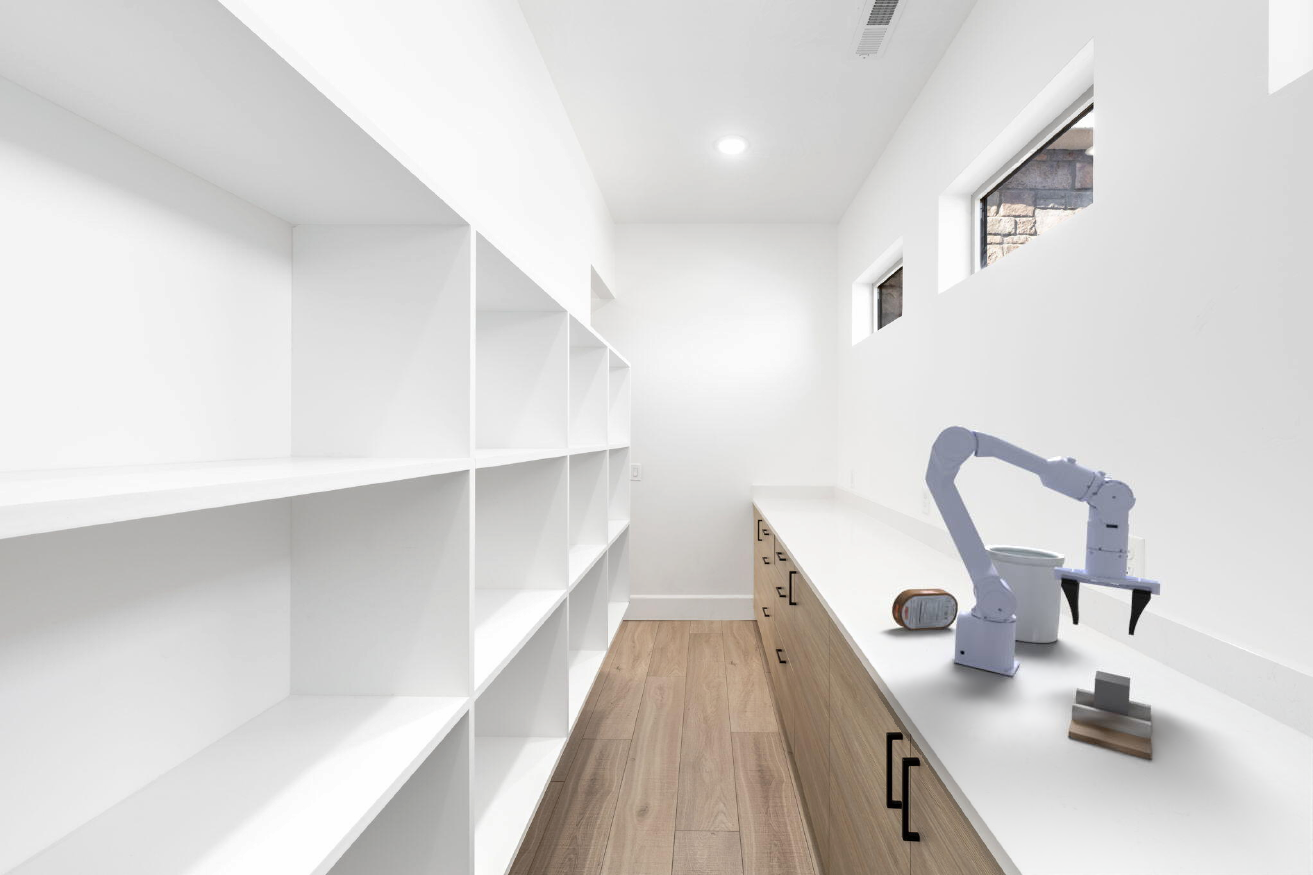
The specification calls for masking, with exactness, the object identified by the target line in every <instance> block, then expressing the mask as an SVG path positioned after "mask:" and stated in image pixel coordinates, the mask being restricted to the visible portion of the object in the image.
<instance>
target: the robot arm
mask: <svg viewBox="0 0 1313 875" xmlns="http://www.w3.org/2000/svg"><path fill="white" fill-rule="evenodd" d="M930 450H931V451H930V455H929V460H928V464H927V469H926V472H925V479H924V480H925V483H926V486H927V488H928V490H929V492H930V494H931V496H932V498H933V501H934V502H935V504H936V507H937V508H938V511H939V513H940V515H941V518H942V520H943V522H944V524H945V526H946V528H947V530H948V532H949V534H950V536H951V538H952V540H953V542H954V544H955V548H956V549H957V552H958V553H959V556H960V558H961V560H962V562H963V564H964V566H965V569H966V571H967V573H968V574H969V577H970V580H971V583H972V586H973V587H972V588H973V589H972V591H973V595H974V598H975V601H976V602H975V603H976V604H975V605H974V606H973V607H971V610H970V611H967V610H960V611H959V612H958V613H957V617H956V625H955V641H954V642H955V643H954V644H955V645H954V659H953V662H954V663H955V664H960V665H964V666H967V667H972V668H976V669H981V670H985V671H989V672H993V673H996V674H1001V675H1005V676H1010V677H1012V676H1014V674H1015V673H1016V671H1017V669H1018V667H1019V666H1020V661H1018V660H1015V651H1016V650H1015V649H1016V640H1015V633H1016V616H1015V615H1014V613H1015V611H1016V608H1017V600H1016V597H1015V595H1014V594H1013V592H1012V591H1011V588H1010V586H1009V584H1008V583H1007V582H1006V580H1004V579H1003V578H1002V577H1001V576H1000V575H999V574H998V573H997V571H996V569H995V567H994V565H993V563H992V561H991V559H990V557H989V555H988V553H987V551H986V549H985V545H984V543H983V541H982V539H981V538H982V537H981V536H980V534H979V532H978V530H977V528H976V526H975V523H974V521H973V519H972V517H971V516H970V513H969V511H968V509H967V507H966V504H965V503H964V501H963V499H962V497H961V494H960V492H959V490H958V488H957V486H956V484H955V479H956V477H957V475H958V474H959V471H960V469H961V466H962V465H963V464H964V463H965V462H966V461H968V459H969V458H970V457H971V456H972V454H973V456H974V457H976V458H990V457H991V458H996V459H998V460H1001V461H1003V462H1006V463H1008V464H1010V465H1012V466H1015V467H1018V468H1020V469H1023V470H1025V471H1027V472H1030V473H1033V474H1035V475H1037V476H1038V478H1039V479H1040V482H1041V484H1042V486H1043V487H1046V488H1048V489H1050V490H1052V491H1055V492H1057V493H1060V494H1062V495H1064V496H1066V497H1067V498H1071V499H1073V500H1076V501H1077V502H1079V503H1082V502H1083V503H1084V502H1086V504H1087V505H1088V519H1087V523H1086V525H1087V526H1086V527H1087V528H1086V545H1085V546H1086V547H1085V562H1084V563H1085V564H1084V566H1085V567H1084V568H1085V569H1079V568H1069V567H1068V568H1067V567H1066V568H1065V567H1063V568H1060V567H1055V569H1054V579H1055V580H1061V591H1063V593H1064V595H1065V598H1066V600H1067V602H1068V605H1069V610H1070V612H1071V618H1072V625H1076V626H1078V625H1079V622H1080V612H1079V606H1080V605H1079V601H1080V600H1079V598H1080V597H1079V596H1080V585H1081V583H1082V584H1089V585H1096V586H1102V587H1108V588H1115V589H1122V590H1128V591H1131V607H1130V617H1129V624H1128V635H1129V636H1135V631H1136V627H1137V624H1138V621H1139V620H1140V617H1141V616H1142V614H1143V612H1144V610H1145V609H1146V607H1147V606H1148V604H1149V603H1150V601H1151V599H1152V595H1157V596H1160V594H1161V581H1160V580H1151V579H1146V578H1141V577H1137V576H1130V575H1127V571H1128V570H1127V569H1128V568H1127V567H1128V550H1129V530H1130V529H1129V528H1130V525H1129V512H1130V511H1131V510H1132V509H1133V508H1134V506H1135V504H1136V500H1137V499H1136V498H1135V497H1134V493H1133V489H1131V488H1130V486H1129V485H1128V484H1127V483H1125V482H1123V481H1121V480H1118V479H1113V478H1111V477H1108V476H1106V472H1104V471H1102V470H1098V471H1095V470H1092V469H1090V468H1087V467H1085V466H1083V465H1080V464H1079V463H1076V462H1077V459H1076V458H1073V457H1070V456H1066V458H1064V457H1062V456H1056V457H1053V458H1050V459H1046V458H1044V457H1042V456H1039V455H1037V454H1035V453H1034V452H1031V451H1028V450H1026V449H1024V448H1022V447H1020V446H1017V445H1015V444H1013V443H1012V442H1009V441H1007V440H1004V439H1003V438H1000V437H998V436H995V435H992V434H988V433H985V432H981V431H978V430H970V429H968V428H966V427H965V426H960V425H953V426H949V427H947V428H945V429H943V430H942V431H941V432H940V433H939V434H938V436H937V437H936V439H935V441H934V443H933V444H932V446H931V449H930Z"/></svg>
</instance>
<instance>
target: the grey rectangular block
mask: <svg viewBox="0 0 1313 875" xmlns="http://www.w3.org/2000/svg"><path fill="white" fill-rule="evenodd" d="M1094 676H1095V677H1094V691H1093V692H1094V708H1096V709H1100V710H1104V711H1108V712H1112V713H1116V714H1120V715H1124V716H1128V715H1129V701H1130V693H1131V691H1130V690H1131V677H1127V676H1125V675H1124V676H1123V675H1119V674H1113V673H1109V672H1104V671H1100V670H1096V671H1095V675H1094Z"/></svg>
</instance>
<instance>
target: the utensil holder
mask: <svg viewBox="0 0 1313 875" xmlns="http://www.w3.org/2000/svg"><path fill="white" fill-rule="evenodd" d="M984 546H985V545H984ZM985 549H986V551H987V553H988V555H989V557H990V559H991V561H992V563H993V565H994V567H995V569H996V571H997V573H998V574H999V575H1000V576H1001V577H1002V578H1003V579H1004V580H1006V582H1007V583H1008V584H1009V586H1010V588H1011V591H1012V592H1013V594H1014V595H1015V597H1016V600H1017V608H1016V611H1015V613H1014V615H1015V616H1016V633H1015V641H1019V642H1025V643H1036V644H1049V643H1053V642H1056V641H1057V640H1058V636H1059V635H1058V634H1059V625H1060V617H1061V616H1060V615H1061V614H1060V613H1061V601H1062V600H1061V598H1062V587H1061V580H1055V579H1054V569H1055V567H1060V568H1064V567H1063V566H1064V564H1065V562H1066V561H1065V560H1066V559H1065V555H1064V554H1061V553H1058V552H1054V551H1050V550H1045V549H1040V548H1039V549H1038V548H1033V547H1026V546H1024V547H1023V546H1014V545H1001V544H994V545H993V544H991V545H986V546H985Z"/></svg>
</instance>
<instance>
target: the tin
mask: <svg viewBox="0 0 1313 875" xmlns="http://www.w3.org/2000/svg"><path fill="white" fill-rule="evenodd" d="M958 604H959V602H958V601H957V599H956V597H955V596H954V595H953V594H951V593H950V592H948V591H946V590H944V589H942V588H910V589H905V590H903V591H902V592H900V593H899V594H898V595H897V596H896V597H895V599H894V601H893V604H892V607H891V615H892V617H893V620H894V622H895V623H896V624H897V625H899V626H900V627H902V628H904V629H906V630H909V631H931V630H943V629H947V628H949V627H950V626H951V625H953V624H954V622H955V621H956V620H957V617H958V613H959V612H958V611H959V608H958V607H959V605H958Z"/></svg>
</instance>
